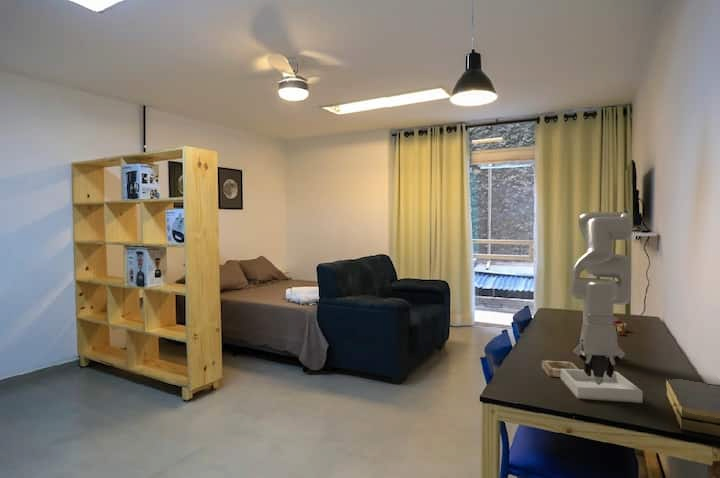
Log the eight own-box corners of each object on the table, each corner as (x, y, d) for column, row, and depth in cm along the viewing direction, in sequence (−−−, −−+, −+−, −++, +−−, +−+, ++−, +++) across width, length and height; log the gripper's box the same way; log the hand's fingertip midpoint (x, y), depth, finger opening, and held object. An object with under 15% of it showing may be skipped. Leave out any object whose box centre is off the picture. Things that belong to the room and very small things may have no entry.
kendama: (632, 339, 208) (624, 327, 225) (630, 327, 208) (622, 315, 224) (614, 340, 211) (608, 328, 228) (612, 328, 211) (606, 316, 227)
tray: (616, 382, 144) (617, 371, 144) (642, 402, 126) (642, 391, 126) (560, 378, 147) (560, 368, 147) (577, 398, 129) (577, 387, 129)
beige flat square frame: (571, 368, 158) (571, 362, 158) (580, 378, 147) (581, 371, 147) (542, 366, 159) (542, 360, 159) (549, 376, 149) (549, 369, 149)
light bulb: (584, 381, 139) (585, 351, 139) (601, 380, 140) (601, 350, 139) (595, 387, 134) (596, 356, 133) (612, 387, 134) (613, 355, 134)
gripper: (623, 318, 138) (622, 373, 139) (567, 316, 141) (566, 370, 142) (633, 323, 131) (632, 381, 131) (574, 321, 134) (573, 377, 134)
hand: (598, 374), depth 137 cm, fingers closed on light bulb, 5 cm apart
